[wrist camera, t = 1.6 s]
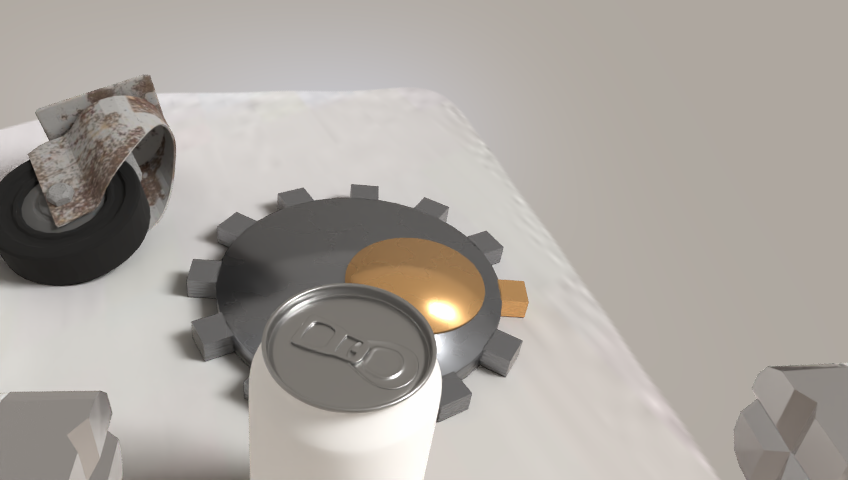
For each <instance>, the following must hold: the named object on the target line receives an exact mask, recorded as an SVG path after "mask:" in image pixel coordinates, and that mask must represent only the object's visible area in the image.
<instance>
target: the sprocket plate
mask: <svg viewBox="0 0 848 480" xmlns="http://www.w3.org/2000/svg"><path fill="white" fill-rule="evenodd" d="M277 209H278V210H279V211H277V212H274V213H272V214H270V215H268V216H266V217H264V218H263V219H261V220H259V221H255V220H253V219H251V218H249V217H246V216H244V215H242V214H240V213H238V212H236V213H235V214H233V215H232V216H231V217H229V218H228V219H227V220H225V221H224V222H223V223H221V224H220V225H219V226H217V232H218V242H219V243H221V244H223V245H225V246H227V247H229V248H228V250H227V252H226V253H225V255H224V257H223V259H222V261H215V260H200V259H193V261H192V264H191V268H190V271H189V274H188V278H187V289H188V297H202V298H217V313H218V314H215V315H211V316H208V317H205V318H202V319H198V320H195V321H192V322H191V323H192V334H193V339H194V341H195V343H196V345H197V347H198V349H199V351H200V353H201V354H202V356H203V358H204V360H205V361H208V360H211V359H214V358H217V357H220V356H223V355H226V354H229V353H232V352H235V353H236V354H237V355H238V356H239V357H240V358H241V359H242V360H243V361H244V362H245V363H246V364H247V365H248V366H249V367H250V368H251V364H252V360H253V358H254V355H255V353H256V351H257V349H258V347H259V345H260V344H261V342H262V335H263V331H264V328H265V326H266V324H267V322H268V320H269V318H270V317H271V315H272V314H273V313H274V312H275V310H276V309H277V308H278V307H279V306H280V305H281V304H283V303H284V302H285V301H287V300H288V299H289V298H291V297H293V296H294V295H296V294H298V293H300V292H303V291H305V290H308V289H310V288H314V287H317V286H322V285H327V284H335V283H355V284H364V285H369V286H374V287H377V288H381V289H384V290H386V291H389V292H391V293H394V294H396V295H398V296H399V297H401V298H403V299H405V300H406V301H408V302H409V303H410V304H412V305H413V306H414V307H415V308H416V309H417V310H418V311H419V312H420V313H421V314H422V315H423V316H424V317H425V319H426V320H427V321H428V323H429V325H430V326H431V328H432V330H433V333H434V336H435V339H436V345H437V357H436V358H437V360H438V363H439V367H440V371H441V377H442V389H441V399H440V404H439V410H438V414H437V421H438V422H440V421H442V420H444V419H447V418H449V417H451V416H453V415H456V414H458V413H460V412H462V411H464V410H467V409H468V407H469V403H470V399H471V396H472V393H471V391H470V390H469V389H468V388H467V387H466V385H465V384H464V383H463V382H462V380H463V379H464V378H466V377H467V376H468V375H469V374H470V373H471V372H472V371H473V370H474V369H475V368H477V367H478V365H481V366H483V367H486V368H488V369H490V370H492V371H494V372H496V373H498V374H501V375H503V376H505V377H506V376H507V374H508V372H509V371H510V369H511V367H512V365H513V364H514V362H515V360H516V359H517V357H518V355H519V351H520V348H521V345H522V340H520V339H518V338H515V337H513V336H511V335H509V334H507V333H504V332H502V331H500V330H498V329H497V328H498V324H499V320H500V316H511V317H524V316H525V313H526V310H527V306H528V303H529V301H528V297H527V293H526V288H525V284H524V281H512V280H498V278H497V276H496V273H495V271H494V269H493V267H492V264H495V263H498V262H500V259H501V255H502V251H503V246H502V245H501V244H500V243H499V242H498V241H496V240H495V239H494V238H493V237H492V236H491V235H490V234H489V233H488V232H487V231H484V232H481V233H478V234H474V235H471V236H468V237H466V236H465V235H464V234H462V233H461V232H460V231H458V230H457V229H455V228H454V227H452V226H451V225H449V224H447V223H445V222H446V220H447V215H448V209H449V207H447V206H445V205H442V204H440V203H438V202H435V201H433V200H430V199H428V198H425V197H424V198H423V199H422V201H421V202H420V203H419V204H418V205H417V206H416V207H415V208H411V207H407V206H404V205H400V204H397V203H391V202H386V201H381V200H378V186H367V185H354V184H351V193H350V198H332V199H323V200H315V201H314V200H313V199H312V197H311V196H310V195H309V194H308V193H307V191H306V190H305V189H304V188H300V189H295V190H291V191H287V192H283V193H279V194H278V208H277ZM244 399H246V400H248V401H249V377H248V379H247V380H246V381H245V382H244Z"/></svg>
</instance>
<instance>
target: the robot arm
mask: <svg viewBox="0 0 848 480" xmlns="http://www.w3.org/2000/svg"><path fill="white" fill-rule="evenodd" d="M752 390H753V391H754V394H755V396H756V398H757V399H756V400H755V401H754V402H752V403H751V404H750V405H749V406H747V407H746V408H745V409H743V410H742V411H741V413H740V415H739V417H738V420H737V422H736V425H735V428H734V451H735V453H736V457H737V460H738V464H739V466H740V468H741V470H742V472H743V474H744V476H745V478H746V480H848V363H840V364H834V363H832V364H810V365H789V366H768V367H766V368H765V369H764V370H762V371H761V372H760V373H759V374H758V375H757V378H756V379H755V382H754V384H753V386H752ZM111 416H112V410H111V407H110V403H109V400H108V396H107V393H105V392H102V391H53V392H10V393H0V480H122V477H123V465H122V452H121V448H120V443H119V439H118V438H117V437H115V436H114V435H113V434H111V433H110V432H108V427H109V423H110V420H111Z"/></svg>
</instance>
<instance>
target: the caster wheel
mask: <svg viewBox="0 0 848 480" xmlns="http://www.w3.org/2000/svg"><path fill="white" fill-rule="evenodd" d="M35 113H36V116H37V117H38V119H39V121H40V123H41V125H42V127H43V129H44V131H45V133H46V135H47V137H48V139H49V141H48V142H46V143H44V144H42V145H40V146H38V147H37V148H36V149H34V150H33V151H31V152H30V153H29V154H28V156H29V158H30V160H29V161H27V162H25V163H23V164H21V165H20V166H18V167H17V168H15V169H14V170H13V171H11V172H10V173H9V174H8V175H7V176H6V177H4V179H3V180H2V181H1V182H0V254H1V256H2V257H3V259H4V260H5V262H6V263H7V264H8V266H9V267H10V268H11V269H13V270H14V271H15V272H16V273H17V274H18V275H20V276H22V277H23V278H25V279H28V280H31V281H33V282H36V283H42V284H49V285H69V284H75V283H80V282H84V281H88V280H91V279H94V278H97V277H99V276H101V275H104V274H106V273H108V272H110V271H111V270H113V269H115V268H116V267H118V266H119V265H120V264H122V263H123V262H124V261H126V260H127V259H128V258H129V257H130V256H131V255H132V254H133V253H134V252H135V251H136V250H137V249H138V248H139V246H140V245H141V243H142V242H143V240H144V238H145V236H146V233H147V231H149V230H150V229H151V228H153V227H154V226H155V225H156V224H157V223H158V222H159V221H160V219H161V218H162V216H163V214H164V212H165V210H166V208H167V205H168V202H169V199H170V195H171V192H172V187H173V181H174V172H175V159H176V143H175V138H174V136H173V133H172V131H171V130H170V128H169V126H168V124H167V122H166V121H165V119H164V116H163V113H162V110H161V107H160V104H159V101H158V98H157V95H156V92H155V89H154V86H153V83H152V80H151V77H150V75H141V76H138V77H135V78H132V79H129V80H126V81H122V82H120V83H116V84H113V85H110V86H107V87H104V88H101V89H97V90H94V91H91V92H88V93H85V94H82V95H79V96H76V97H73V98H70V99H66V100H63V101H61V102H57V103H54V104H51V105H48V106H45V107H42V108H39V109H38V110H37V111H36V112H35Z"/></svg>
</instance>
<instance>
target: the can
mask: <svg viewBox="0 0 848 480" xmlns="http://www.w3.org/2000/svg"><path fill="white" fill-rule="evenodd" d="M436 357H437V345H436V339H435V336H434V333H433V330H432V328H431V326H430V325H429V323H428V321H427V320H426V319H425V317H424V316H423V315H422V314H421V313H420V312H419V311H418V310H417V309H416V308H415V307H414V306H413V305H412V304H410V303H409V302H408V301H406V300H405V299H403V298H401V297H399V296H398V295H396V294H394V293H391V292H389V291H386V290H384V289H381V288H377V287H374V286H369V285H364V284H355V283H335V284H327V285H322V286H317V287H314V288H310V289H308V290H305V291H303V292H300V293H298V294H296V295H294V296H293V297H291V298H289V299H288V300H287V301H285V302H284V303H283V304H281V305H280V306H279V307H278V308H277V309H276V310H275V312H274V313H273V314H272V315H271V317H270V318H269V320H268V322H267V324H266V326H265V328H264V331H263V335H262V342H261V344H260V345H259V347H258V349H257V351H256V353H255V355H254V358H253V360H252V364H251V369H250V376H249V457H250V480H423V478H424V474H425V469H426V465H427V460H428V456H429V451H430V447H431V442H432V438H433V433H434V429H435V424H436V419H437V414H438V410H439V404H440V399H441V389H442V377H441V371H440V367H439V363H438V360H437V358H436Z"/></svg>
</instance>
